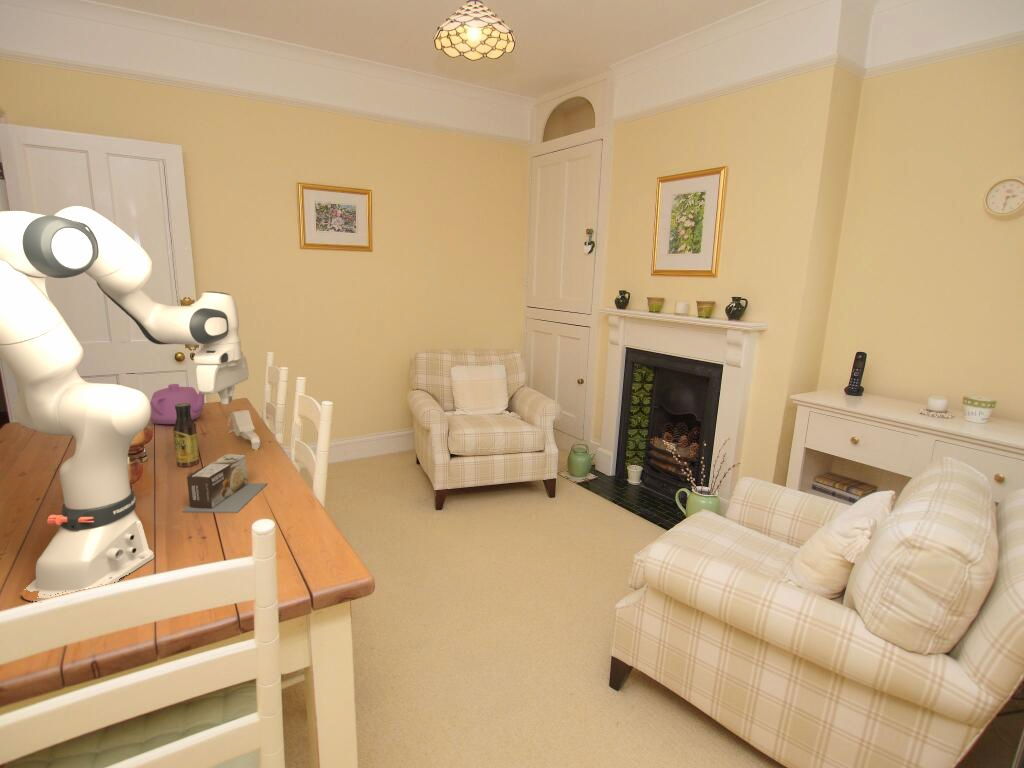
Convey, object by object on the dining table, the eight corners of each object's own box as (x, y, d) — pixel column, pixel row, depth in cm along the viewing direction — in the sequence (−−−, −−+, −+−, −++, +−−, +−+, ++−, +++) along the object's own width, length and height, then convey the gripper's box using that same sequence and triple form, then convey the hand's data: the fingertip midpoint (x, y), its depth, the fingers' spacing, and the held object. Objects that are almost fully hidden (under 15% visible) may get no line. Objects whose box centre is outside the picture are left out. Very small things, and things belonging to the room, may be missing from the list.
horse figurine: (233, 459, 196) (250, 451, 177) (225, 416, 197) (240, 404, 178) (248, 456, 199) (265, 448, 180) (239, 414, 200) (256, 402, 181)
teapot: (135, 429, 199) (129, 391, 196) (172, 414, 220) (168, 379, 217) (193, 431, 198) (188, 392, 195) (225, 416, 219) (221, 380, 216)
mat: (237, 512, 135) (237, 511, 135) (182, 512, 135) (182, 511, 135) (267, 484, 153) (267, 483, 153) (218, 483, 152) (218, 482, 152)
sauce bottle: (172, 465, 165) (164, 404, 161) (192, 459, 171) (185, 400, 166) (184, 469, 162) (177, 407, 158) (204, 463, 168) (197, 403, 163)
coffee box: (225, 453, 150) (185, 474, 135) (246, 455, 150) (208, 476, 134) (228, 483, 152) (189, 507, 137) (248, 485, 152) (212, 509, 136)
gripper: (230, 347, 150) (234, 394, 153) (189, 358, 130) (194, 412, 133) (252, 347, 150) (256, 394, 153) (215, 359, 130) (220, 412, 133)
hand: (227, 402), depth 143 cm, fingers closed
